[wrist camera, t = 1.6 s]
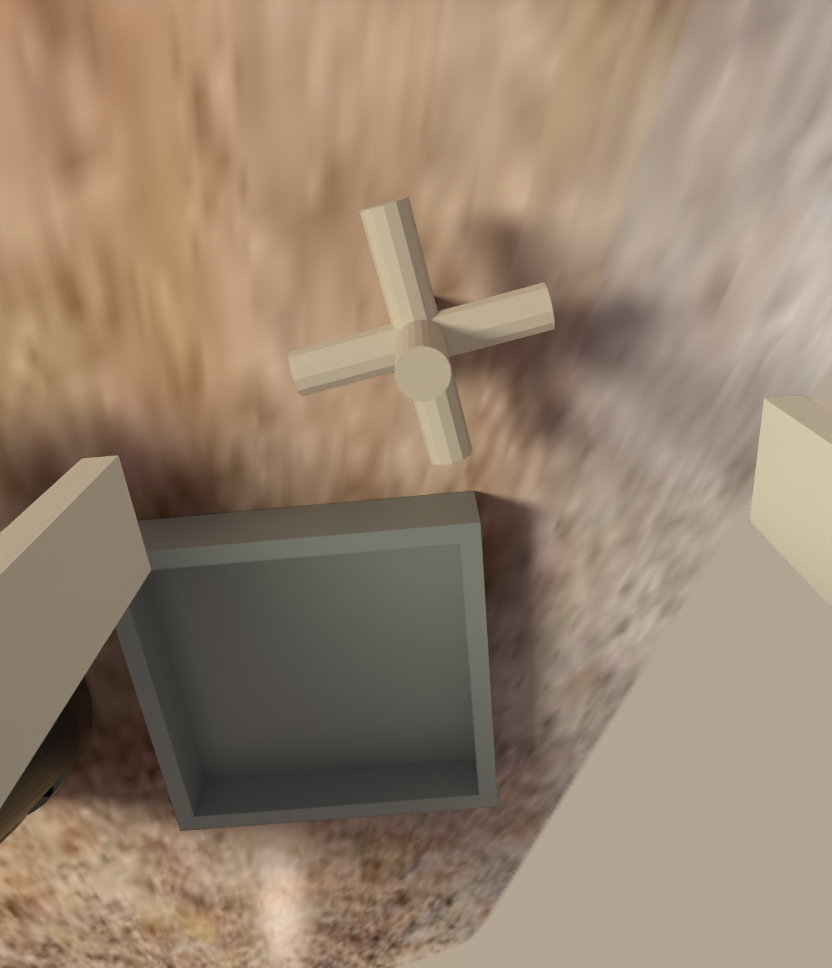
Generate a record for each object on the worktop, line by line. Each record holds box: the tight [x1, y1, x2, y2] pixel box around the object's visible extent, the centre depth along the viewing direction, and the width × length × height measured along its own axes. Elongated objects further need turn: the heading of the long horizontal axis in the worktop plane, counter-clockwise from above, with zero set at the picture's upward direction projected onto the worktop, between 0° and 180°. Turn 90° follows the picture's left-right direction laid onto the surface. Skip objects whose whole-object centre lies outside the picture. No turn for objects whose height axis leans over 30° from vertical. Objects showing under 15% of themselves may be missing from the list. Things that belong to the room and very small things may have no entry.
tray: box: [115, 491, 498, 831], centre depth 38 cm, size 18×18×3 cm
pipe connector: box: [288, 197, 555, 465], centre depth 27 cm, size 10×10×10 cm
